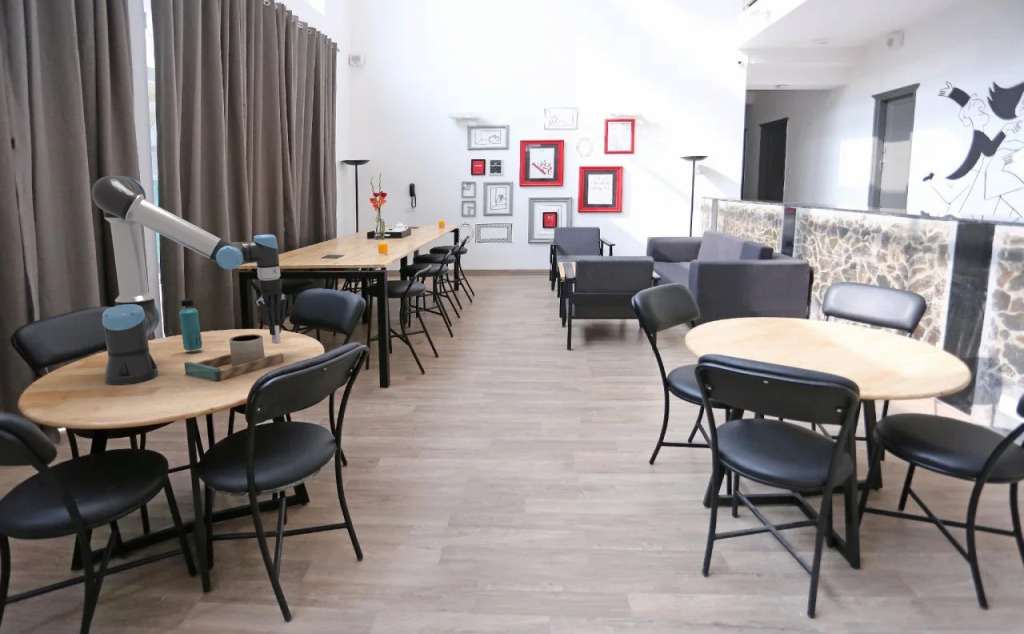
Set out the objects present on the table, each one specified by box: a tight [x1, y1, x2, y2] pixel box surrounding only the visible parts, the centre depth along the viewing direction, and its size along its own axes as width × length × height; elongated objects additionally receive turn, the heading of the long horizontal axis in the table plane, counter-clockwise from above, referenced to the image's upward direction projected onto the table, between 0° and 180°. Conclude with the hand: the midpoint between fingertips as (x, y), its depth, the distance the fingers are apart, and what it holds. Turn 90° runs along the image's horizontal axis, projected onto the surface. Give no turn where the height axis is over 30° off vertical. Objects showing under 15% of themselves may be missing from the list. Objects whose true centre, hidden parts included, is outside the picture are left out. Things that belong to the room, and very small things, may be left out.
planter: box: [228, 333, 266, 367], centre depth 227 cm, size 11×11×10 cm
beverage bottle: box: [178, 298, 203, 351], centre depth 244 cm, size 6×7×20 cm
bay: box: [183, 352, 285, 383], centre depth 224 cm, size 26×17×4 cm, turn 148°
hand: (276, 343), depth 237 cm, fingers closed
